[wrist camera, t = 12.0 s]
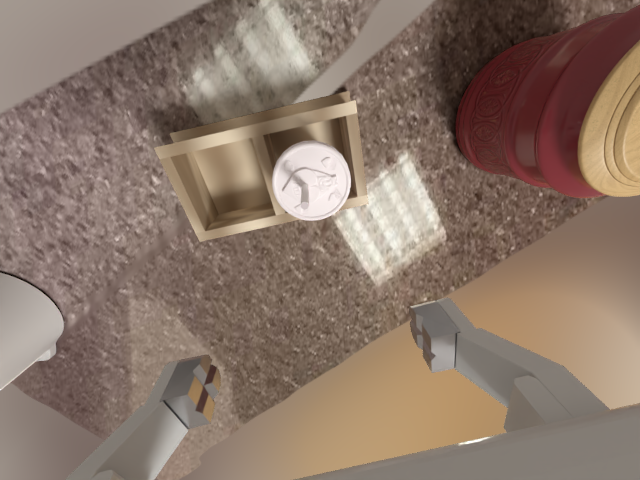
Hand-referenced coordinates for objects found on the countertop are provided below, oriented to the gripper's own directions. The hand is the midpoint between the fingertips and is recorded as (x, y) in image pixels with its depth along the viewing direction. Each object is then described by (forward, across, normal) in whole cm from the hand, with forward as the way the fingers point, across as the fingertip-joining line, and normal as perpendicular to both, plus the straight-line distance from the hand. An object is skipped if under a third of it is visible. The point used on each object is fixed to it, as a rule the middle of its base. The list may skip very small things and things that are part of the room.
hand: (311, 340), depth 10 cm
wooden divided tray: (+23, +2, -3) cm, 24 cm away
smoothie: (+22, -2, -3) cm, 23 cm away
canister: (+23, -25, -3) cm, 34 cm away
